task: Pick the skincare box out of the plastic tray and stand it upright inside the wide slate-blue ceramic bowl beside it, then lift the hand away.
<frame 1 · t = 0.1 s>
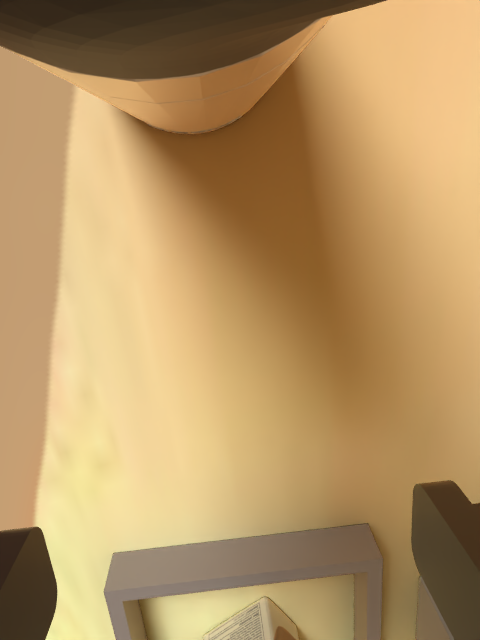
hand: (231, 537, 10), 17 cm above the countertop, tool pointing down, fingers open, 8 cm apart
skincare box: (251, 625, 35), resting in parts tray
parts tray: (251, 628, 35), on the countertop
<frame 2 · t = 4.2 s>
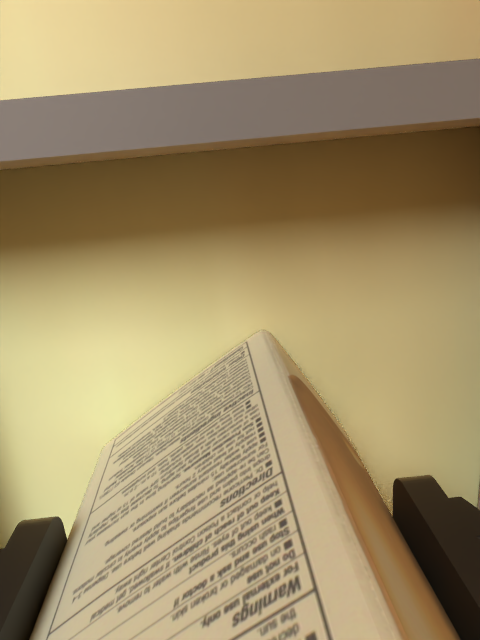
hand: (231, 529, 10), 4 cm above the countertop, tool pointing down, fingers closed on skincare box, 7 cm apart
skincare box: (227, 429, 14), resting in parts tray, touching gripper
parts tray: (227, 432, 14), on the countertop
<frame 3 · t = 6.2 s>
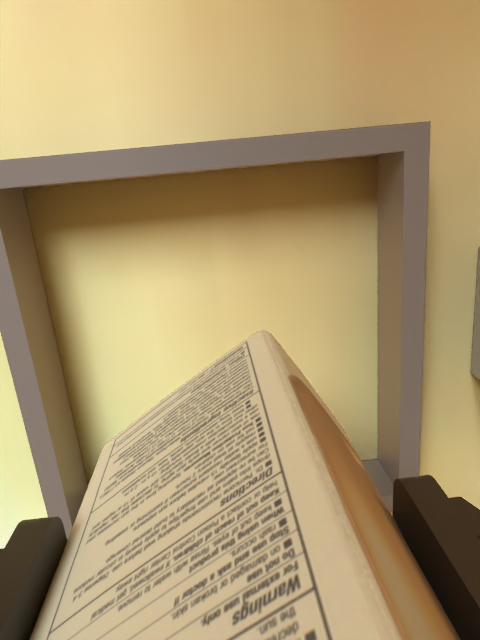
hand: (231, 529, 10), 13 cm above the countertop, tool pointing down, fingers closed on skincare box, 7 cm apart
skincare box: (227, 429, 14), point 9 cm above the countertop, touching gripper
parts tray: (220, 339, 23), on the countertop
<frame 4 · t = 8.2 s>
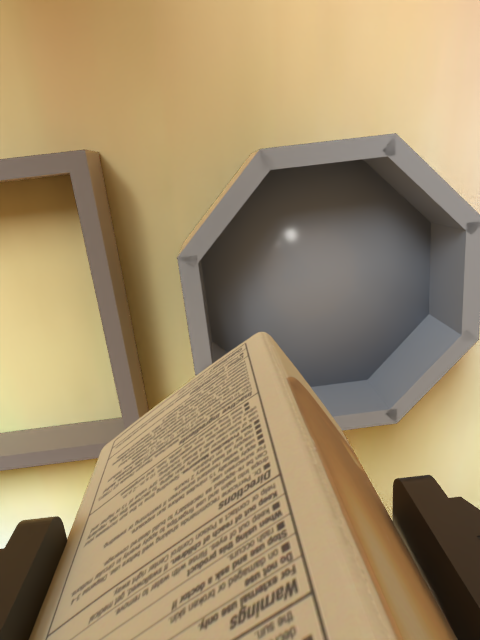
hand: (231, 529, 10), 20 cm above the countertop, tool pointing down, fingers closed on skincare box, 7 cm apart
ceramic bowl: (315, 279, 29), on the countertop
skincare box: (227, 430, 14), point 16 cm above the countertop, touching gripper
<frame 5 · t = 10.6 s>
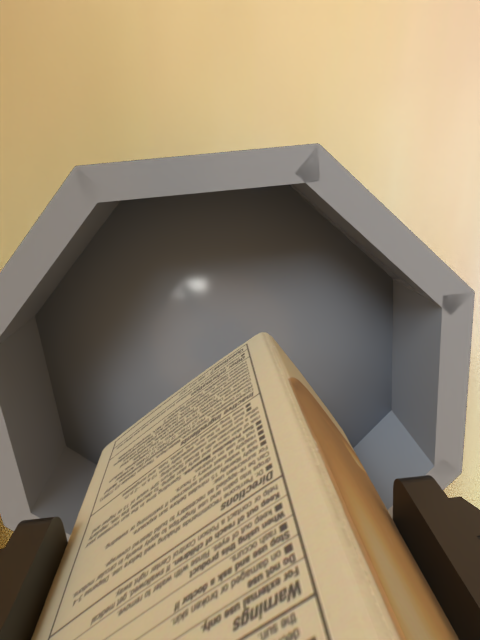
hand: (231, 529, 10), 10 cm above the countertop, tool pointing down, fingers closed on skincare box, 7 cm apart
ceramic bowl: (223, 356, 20), on the countertop
skincare box: (228, 431, 14), point 6 cm above the countertop, touching gripper
when the fingers open (6 cm above the countertop, at t = 12.5 s): skincare box stays where it is, resting on ceramic bowl.
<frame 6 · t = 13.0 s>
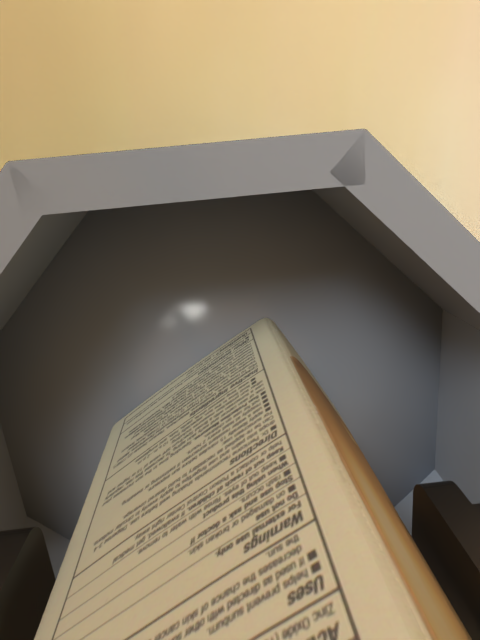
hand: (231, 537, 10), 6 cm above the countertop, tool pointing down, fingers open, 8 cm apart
ceramic bowl: (224, 402, 16), on the countertop
skincare box: (230, 411, 15), point 1 cm above the countertop, touching ceramic bowl
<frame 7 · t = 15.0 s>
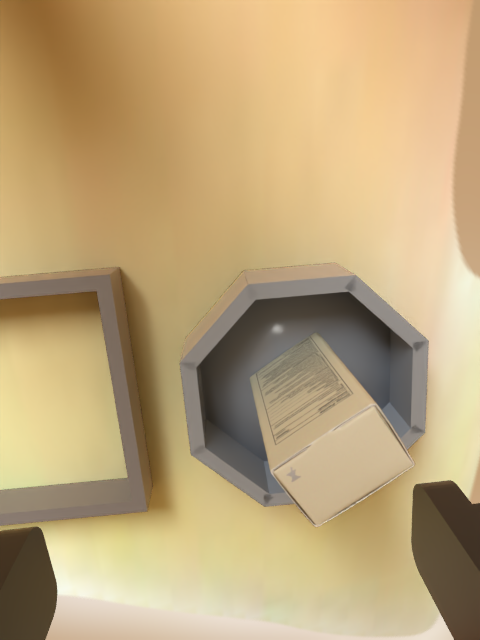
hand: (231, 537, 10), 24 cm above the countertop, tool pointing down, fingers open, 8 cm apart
ceramic bowl: (294, 370, 35), on the countertop
skincare box: (298, 373, 34), point 1 cm above the countertop, touching ceramic bowl
parts tray: (17, 395, 34), on the countertop
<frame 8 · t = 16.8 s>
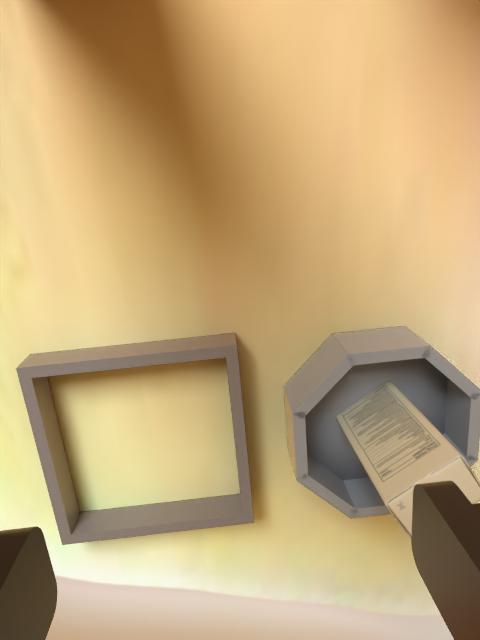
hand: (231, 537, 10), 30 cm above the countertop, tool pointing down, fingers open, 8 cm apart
ceramic bowl: (368, 408, 43), on the countertop
skincare box: (373, 411, 43), point 1 cm above the countertop, touching ceramic bowl
parts tray: (148, 432, 43), on the countertop
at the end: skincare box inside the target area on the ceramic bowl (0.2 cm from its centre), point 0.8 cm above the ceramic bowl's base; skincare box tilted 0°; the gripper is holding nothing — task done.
